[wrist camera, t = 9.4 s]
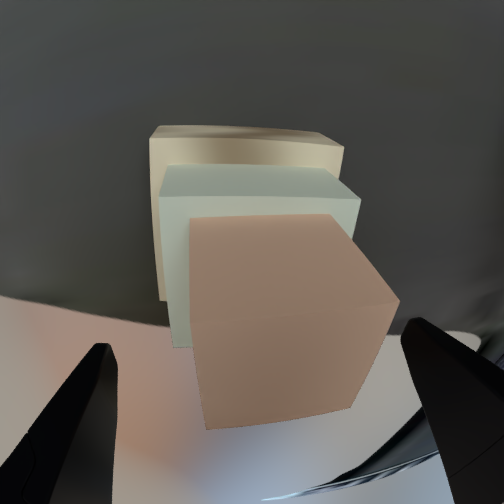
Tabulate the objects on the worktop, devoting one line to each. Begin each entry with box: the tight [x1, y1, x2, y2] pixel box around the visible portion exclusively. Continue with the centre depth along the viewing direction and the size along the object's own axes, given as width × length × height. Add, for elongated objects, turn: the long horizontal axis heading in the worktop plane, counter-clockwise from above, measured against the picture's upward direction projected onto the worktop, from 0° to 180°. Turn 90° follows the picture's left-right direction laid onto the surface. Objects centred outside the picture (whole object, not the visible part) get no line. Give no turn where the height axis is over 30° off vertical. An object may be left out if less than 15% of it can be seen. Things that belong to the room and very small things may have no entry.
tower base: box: [150, 125, 344, 301], centre depth 15 cm, size 8×8×4 cm
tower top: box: [158, 164, 361, 348], centre depth 13 cm, size 6×6×4 cm
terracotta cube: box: [189, 214, 400, 430], centre depth 9 cm, size 4×4×4 cm
